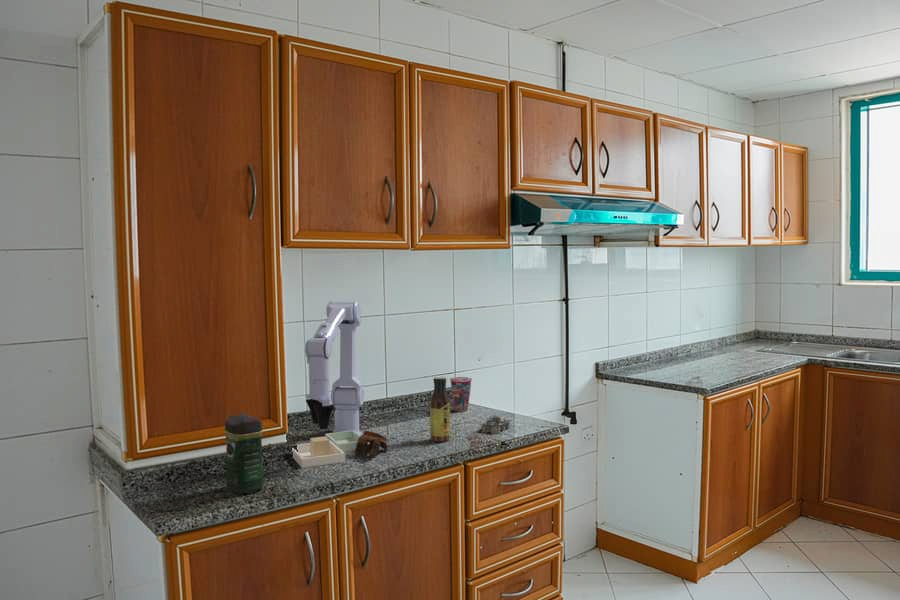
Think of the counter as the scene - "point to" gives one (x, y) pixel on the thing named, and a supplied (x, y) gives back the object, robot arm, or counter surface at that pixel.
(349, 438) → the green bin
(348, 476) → the counter surface
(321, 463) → the cream bin
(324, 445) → the sandstone block
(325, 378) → the robot arm
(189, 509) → the counter surface
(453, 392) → the cup
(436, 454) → the counter surface
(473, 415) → the counter surface
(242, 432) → the coffee jar
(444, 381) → the sauce bottle
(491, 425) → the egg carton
